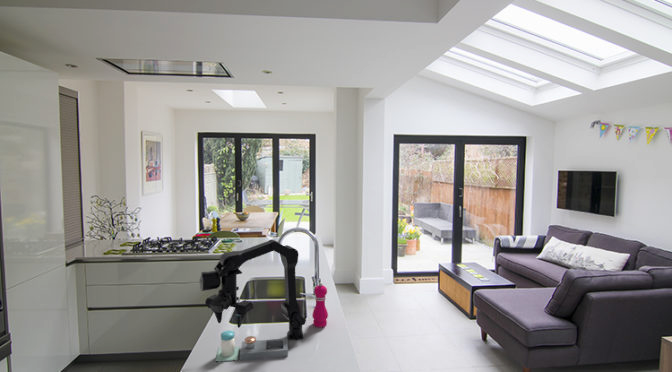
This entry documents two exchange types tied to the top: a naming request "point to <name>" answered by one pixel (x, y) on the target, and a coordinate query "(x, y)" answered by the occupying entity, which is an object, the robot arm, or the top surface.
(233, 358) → the mat
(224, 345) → the cylinder
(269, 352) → the housing
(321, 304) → the pepper mill
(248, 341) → the plunger
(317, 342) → the top surface
